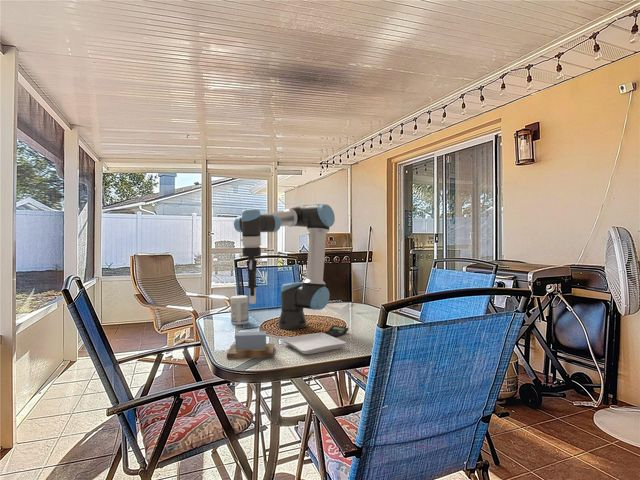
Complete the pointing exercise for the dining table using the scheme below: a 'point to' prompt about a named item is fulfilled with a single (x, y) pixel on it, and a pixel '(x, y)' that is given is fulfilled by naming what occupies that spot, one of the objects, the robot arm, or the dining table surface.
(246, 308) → the supplement tub
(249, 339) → the block
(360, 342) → the dining table surface
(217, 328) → the dining table surface
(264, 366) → the dining table surface
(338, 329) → the calculator
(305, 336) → the salad plate
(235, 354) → the board
